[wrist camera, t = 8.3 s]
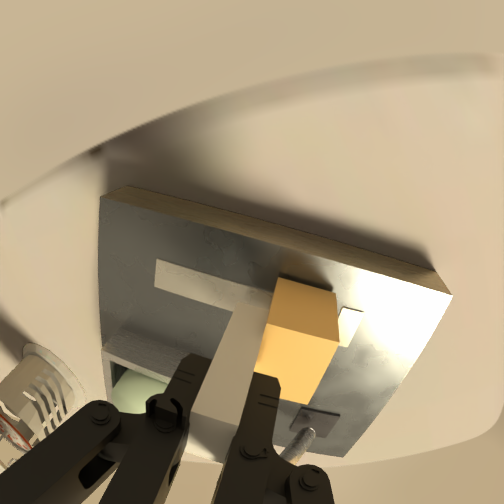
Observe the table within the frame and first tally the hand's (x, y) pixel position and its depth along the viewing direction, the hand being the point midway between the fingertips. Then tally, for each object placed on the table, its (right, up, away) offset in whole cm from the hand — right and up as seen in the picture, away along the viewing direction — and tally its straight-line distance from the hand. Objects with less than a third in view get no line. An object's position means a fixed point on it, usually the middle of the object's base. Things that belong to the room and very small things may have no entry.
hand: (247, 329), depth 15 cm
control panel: (0, -2, +7) cm, 7 cm away
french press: (-23, -12, +16) cm, 30 cm away
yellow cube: (+2, 0, +2) cm, 3 cm away
